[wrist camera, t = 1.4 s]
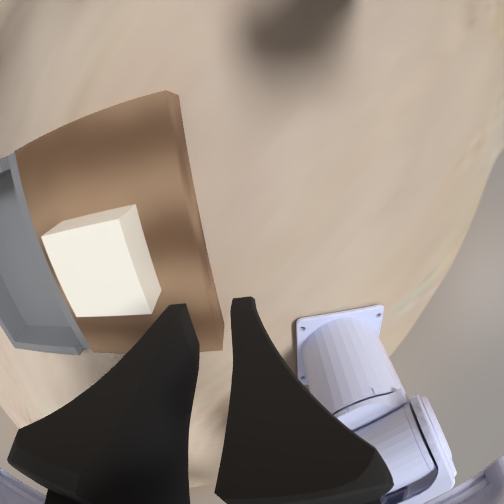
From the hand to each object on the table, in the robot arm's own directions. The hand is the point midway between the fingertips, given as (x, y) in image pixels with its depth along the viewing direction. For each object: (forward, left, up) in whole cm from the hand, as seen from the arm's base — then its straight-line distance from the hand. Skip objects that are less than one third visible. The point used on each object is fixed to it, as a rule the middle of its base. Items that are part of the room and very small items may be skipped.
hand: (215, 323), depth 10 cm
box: (0, +20, -10) cm, 23 cm away
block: (0, +8, -7) cm, 11 cm away
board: (0, +8, -10) cm, 13 cm away
